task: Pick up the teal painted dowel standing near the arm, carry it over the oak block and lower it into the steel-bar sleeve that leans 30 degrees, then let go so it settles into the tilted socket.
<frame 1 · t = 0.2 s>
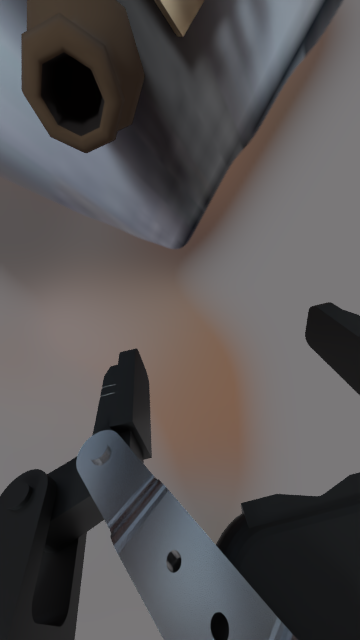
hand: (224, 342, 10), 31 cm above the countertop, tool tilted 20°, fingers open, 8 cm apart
beer bottle: (95, 57, 23), on the countertop
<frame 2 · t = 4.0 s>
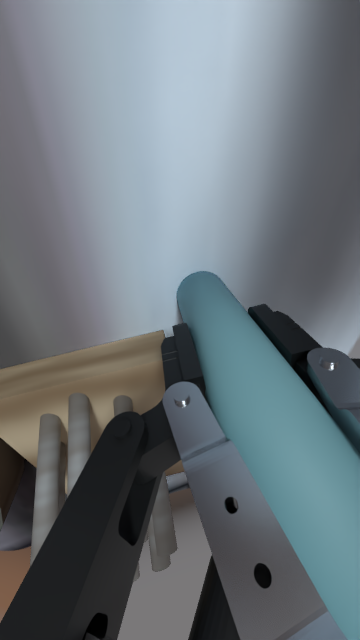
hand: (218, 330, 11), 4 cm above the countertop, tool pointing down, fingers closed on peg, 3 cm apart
peg: (200, 294, 15), on the countertop, touching gripper
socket: (114, 410, 19), on the countertop
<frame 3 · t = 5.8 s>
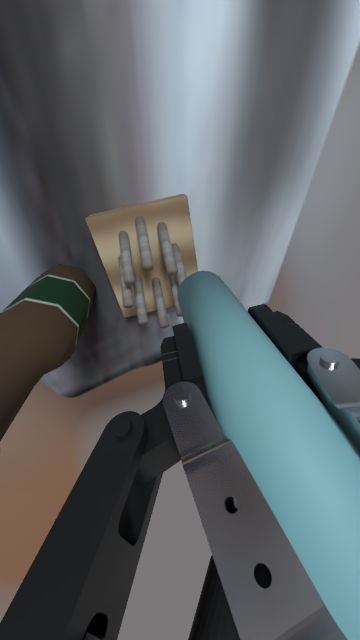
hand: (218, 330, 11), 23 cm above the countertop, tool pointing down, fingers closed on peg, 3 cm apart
beer bottle: (70, 287, 33), on the countertop
peg: (201, 294, 15), point 19 cm above the countertop, touching gripper
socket: (151, 257, 32), on the countertop
when the fingers open (10 cm above the countertop, at t = 7.9 s): peg drops 2 cm and tips over, resting on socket.
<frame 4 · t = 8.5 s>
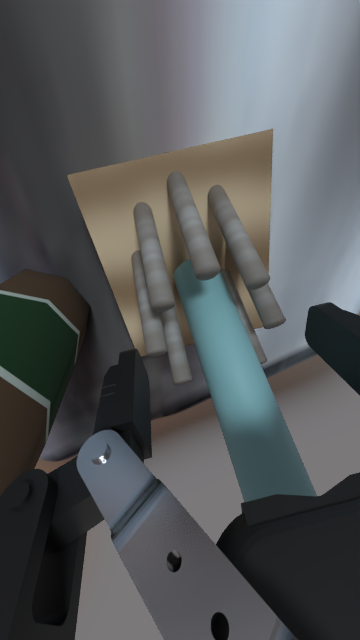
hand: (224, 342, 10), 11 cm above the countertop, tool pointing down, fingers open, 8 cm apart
beer bottle: (47, 307, 20), on the countertop
peg: (195, 271, 16), point 4 cm above the countertop, tilted 34°, touching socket
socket: (184, 257, 19), on the countertop
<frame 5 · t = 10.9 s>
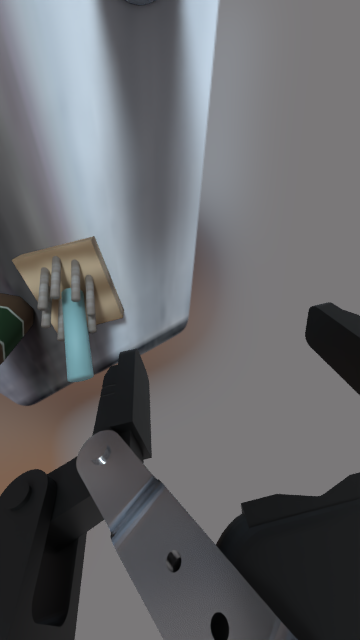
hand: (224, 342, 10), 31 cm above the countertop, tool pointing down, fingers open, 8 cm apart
beer bottle: (12, 311, 40), on the countertop
peg: (72, 293, 36), point 4 cm above the countertop, tilted 34°, touching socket
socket: (77, 285, 39), on the countertop
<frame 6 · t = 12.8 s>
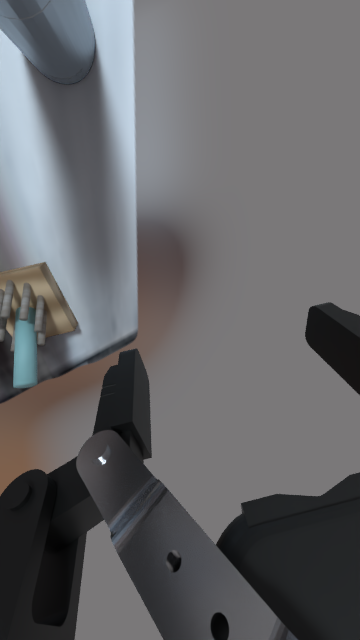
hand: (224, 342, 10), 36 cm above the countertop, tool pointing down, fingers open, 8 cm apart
peg: (26, 310, 42), point 4 cm above the countertop, tilted 34°, touching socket
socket: (33, 301, 45), on the countertop
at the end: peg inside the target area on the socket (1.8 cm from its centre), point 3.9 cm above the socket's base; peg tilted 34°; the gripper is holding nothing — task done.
